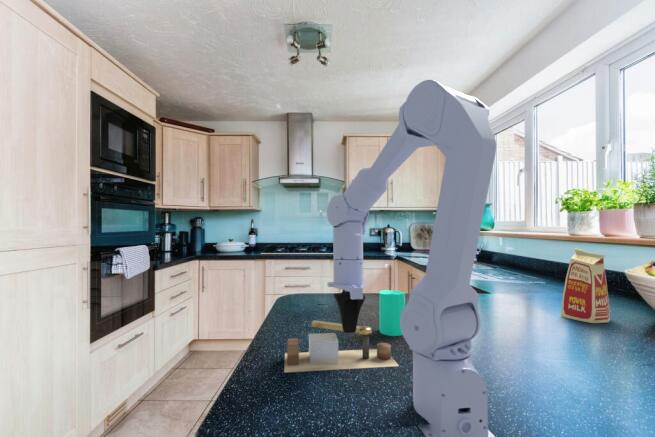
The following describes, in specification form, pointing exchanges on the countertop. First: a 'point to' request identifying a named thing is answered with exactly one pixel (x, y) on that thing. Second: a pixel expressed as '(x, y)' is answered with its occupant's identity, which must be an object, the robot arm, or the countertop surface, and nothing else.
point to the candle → (390, 312)
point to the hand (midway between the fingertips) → (349, 331)
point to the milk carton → (586, 289)
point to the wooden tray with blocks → (340, 358)
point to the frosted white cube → (323, 349)
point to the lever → (336, 326)
